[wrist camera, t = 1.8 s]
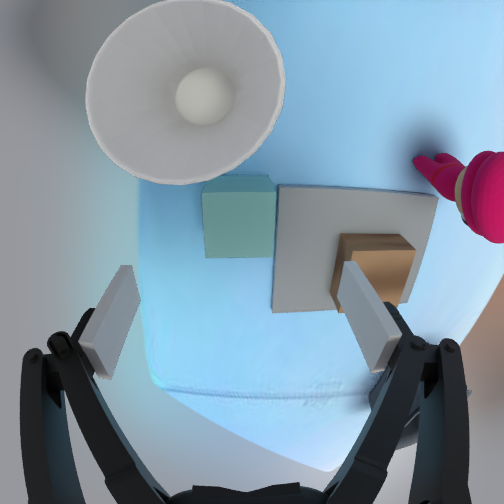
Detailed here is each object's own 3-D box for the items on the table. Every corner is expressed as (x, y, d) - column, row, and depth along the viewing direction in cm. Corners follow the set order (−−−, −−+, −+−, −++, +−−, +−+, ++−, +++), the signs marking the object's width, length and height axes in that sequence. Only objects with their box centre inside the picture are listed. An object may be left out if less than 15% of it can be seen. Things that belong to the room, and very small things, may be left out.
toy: (405, 203, 29) (488, 271, 16) (393, 136, 25) (495, 174, 12) (454, 184, 28) (537, 237, 15) (446, 122, 24) (543, 153, 11)
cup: (136, 123, 24) (60, 144, 12) (185, 32, 19) (143, -23, 8) (229, 166, 27) (222, 218, 15) (282, 76, 22) (324, 49, 11)
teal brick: (208, 175, 27) (201, 192, 22) (268, 174, 27) (276, 192, 22) (211, 229, 30) (205, 258, 25) (266, 229, 30) (273, 257, 25)
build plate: (278, 184, 28) (279, 187, 27) (434, 194, 29) (438, 197, 28) (271, 308, 36) (272, 313, 35) (404, 298, 36) (407, 302, 36)
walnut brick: (340, 233, 30) (352, 250, 26) (399, 233, 30) (416, 250, 27) (329, 292, 34) (338, 313, 30) (384, 288, 34) (397, 307, 30)
